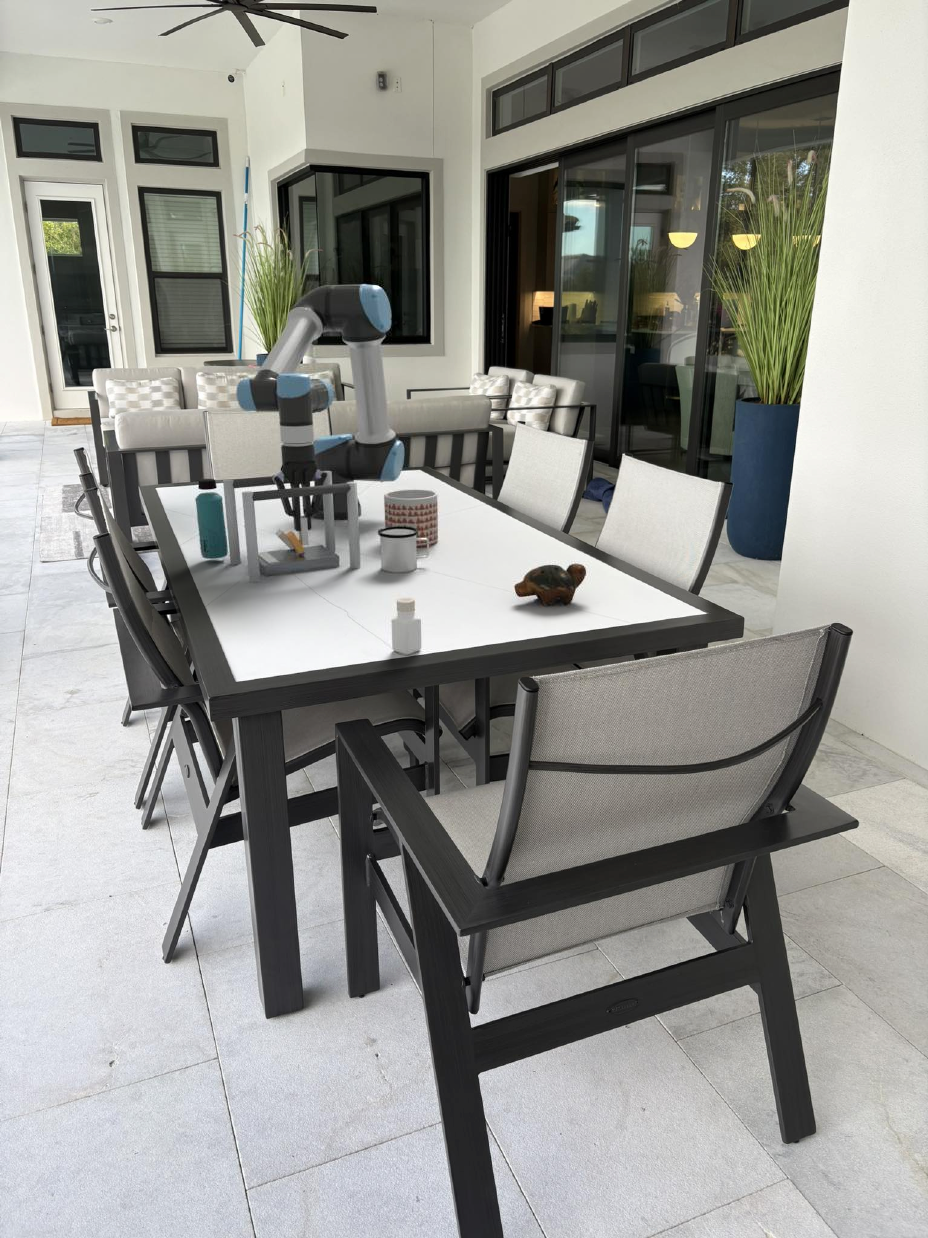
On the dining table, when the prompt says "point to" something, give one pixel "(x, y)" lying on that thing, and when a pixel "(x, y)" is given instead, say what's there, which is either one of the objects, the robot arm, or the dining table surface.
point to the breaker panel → (296, 560)
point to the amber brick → (295, 542)
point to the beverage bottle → (211, 521)
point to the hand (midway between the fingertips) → (303, 543)
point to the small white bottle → (406, 627)
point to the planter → (413, 512)
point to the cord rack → (250, 497)
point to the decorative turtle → (552, 583)
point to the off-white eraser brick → (284, 538)
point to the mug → (399, 548)
